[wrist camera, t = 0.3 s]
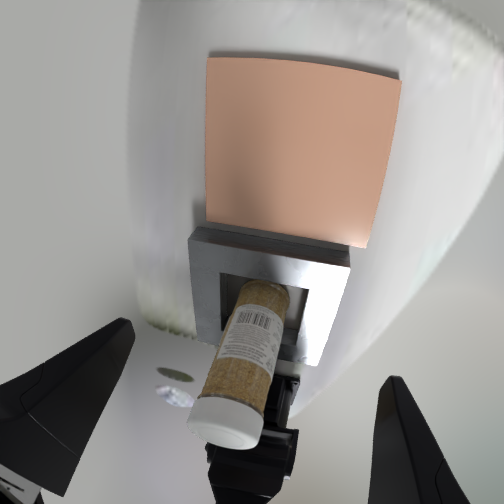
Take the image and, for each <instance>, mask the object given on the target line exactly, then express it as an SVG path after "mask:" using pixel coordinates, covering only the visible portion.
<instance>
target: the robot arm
mask: <svg viewBox="0 0 504 504" xmlns="http://www.w3.org/2000/svg"><path fill="white" fill-rule="evenodd" d="M134 341H135V332H134V329H133V326H132V323H131V321H130V320H128V319H125V318H122V317H121V318H118V319H116V320H114V321H112V322H111V323H109V324H108V325H106V326H104V327H102V328H101V329H99V330H97V331H96V332H94V333H92V334H91V335H89V336H87V337H85V338H84V339H82V340H80V341H79V342H77V343H75V344H74V345H72V346H70V347H69V348H67V349H66V350H64V351H62V352H60V353H59V354H57V355H55V356H54V357H52V358H50V359H49V360H47V361H45V363H42V364H40V365H39V366H37V367H35V368H34V369H32V370H30V371H28V372H26V373H25V374H22V375H20V376H18V377H16V378H14V379H12V380H10V381H8V382H6V383H4V384H1V385H0V504H44V502H43V499H42V495H41V492H40V490H41V488H44V489H46V490H48V491H50V492H52V493H54V494H57V495H59V496H61V497H64V495H65V492H66V490H67V488H68V485H69V483H70V481H71V479H72V476H73V474H74V472H75V469H76V467H77V465H78V463H79V461H80V458H81V455H82V454H83V451H84V449H85V447H86V445H87V442H88V441H89V438H90V436H91V434H92V432H93V430H94V428H95V426H96V424H97V422H98V420H99V418H100V416H101V414H102V411H103V410H104V407H105V406H106V404H107V402H108V399H109V398H110V396H111V394H112V392H113V390H114V388H115V386H116V384H117V382H118V380H119V378H120V376H121V374H122V371H123V369H124V366H125V364H126V361H127V359H128V356H129V354H130V351H131V349H132V346H133V344H134ZM299 385H300V380H299V379H296V378H290V377H285V376H280V375H274V374H273V378H272V382H271V385H270V387H269V391H268V394H267V400H266V403H265V407H264V411H263V414H264V417H263V421H264V423H263V427H262V431H261V435H260V438H259V441H258V444H257V445H256V446H255V447H253V448H250V449H243V450H242V449H231V448H225V447H221V446H218V445H215V444H212V443H209V442H207V444H206V446H205V450H206V451H207V462H208V463H210V464H211V465H210V468H209V471H208V477H209V480H210V484H211V487H212V491H213V494H214V497H215V500H216V504H267V503H268V502H269V501H270V500H271V499H272V498H273V497H274V496H275V495H276V494H277V493H278V492H279V491H280V490H281V487H282V483H283V479H284V480H289V478H290V476H291V473H292V469H293V465H294V461H295V455H296V448H297V440H298V434H299V430H298V429H287V428H286V425H287V420H288V415H289V410H290V405H292V404H293V401H294V398H295V396H296V393H297V390H298V388H299ZM372 453H373V454H372V467H371V478H370V489H369V498H368V504H470V502H469V501H468V499H467V497H466V496H465V494H464V492H463V491H462V489H461V488H460V486H459V484H458V482H457V481H456V479H455V477H454V475H453V473H452V472H451V469H450V467H449V465H448V463H447V461H446V459H445V458H444V456H443V453H442V451H441V449H440V447H439V445H438V443H437V441H436V439H435V437H434V435H433V434H432V432H431V430H430V428H429V426H428V424H427V422H426V420H425V419H424V416H423V415H422V413H421V411H420V409H419V407H418V406H417V403H416V402H415V400H414V398H413V396H412V394H411V393H410V391H409V389H408V387H407V385H406V384H405V382H404V380H403V379H402V377H400V376H393V375H392V376H389V377H388V379H387V380H386V381H385V383H384V384H383V386H382V387H381V389H380V391H379V397H378V405H377V412H376V420H375V426H374V435H373V452H372Z"/></svg>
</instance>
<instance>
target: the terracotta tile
mask: <svg viewBox="0 0 504 504" xmlns="http://www.w3.org/2000/svg"><path fill="white" fill-rule="evenodd" d="M401 84H402V81H400V80H397V79H393V78H389V77H385V76H381V75H377V74H372V73H368V72H363V71H358V70H353V69H348V68H342V67H336V66H330V65H323V64H316V63H308V62H300V61H290V60H278V59H263V58H233V57H219V58H207V76H206V125H205V176H206V221H210V222H216V223H223V224H229V225H235V226H241V227H247V228H253V229H259V230H265V231H271V232H277V233H283V234H289V235H295V236H300V237H306V238H312V239H317V240H323V241H328V242H334V243H339V244H345V245H350V246H356V247H361V248H366V246H367V242H368V239H369V236H370V232H371V229H372V225H373V221H374V218H375V214H376V210H377V206H378V202H379V198H380V194H381V190H382V186H383V182H384V178H385V173H386V169H387V164H388V160H389V155H390V150H391V145H392V140H393V135H394V129H395V123H396V118H397V112H398V105H399V99H400V92H401Z"/></svg>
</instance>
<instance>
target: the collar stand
mask: <svg viewBox="0 0 504 504" xmlns="http://www.w3.org/2000/svg"><path fill="white" fill-rule="evenodd" d="M188 250H189V262H190V273H191V284H192V294H193V304H194V313H195V321H196V330H197V338H198V341H201V342H205V343H209V344H213V345H217V346H219V343H220V340H221V338H222V335H223V333H224V330H225V328H226V325H227V323H228V320H229V318H230V316H227V274H232V275H237V276H242V277H247V278H253V279H258V280H263V281H268V282H274V283H279V284H284V285H290V286H295V287H301V288H306V289H308V292H307V296H306V301H305V305H304V309H303V313H302V317H301V321H300V325H299V329H298V330H294V329H289V328H284V327H283V334H282V338H281V343H280V347H279V351H278V356H277V359H281V360H286V361H291V362H297V363H302V364H308V365H314V366H317V363H318V361H319V358H320V356H321V353H322V350H323V348H324V345H325V342H326V340H327V337H328V334H329V331H330V329H331V326H332V323H333V320H334V317H335V314H336V311H337V308H338V305H339V302H340V299H341V296H342V293H343V290H344V287H345V284H346V281H347V277H348V274H349V271H350V256H349V253H348V252H342V251H337V250H331V249H326V248H320V247H315V246H309V245H303V244H298V243H292V242H286V241H281V240H275V239H269V238H263V237H257V236H251V235H246V234H240V233H234V232H228V231H222V230H216V229H209V228H203V227H197V228H196V229H195V231H194V232H193V233H192V234H191V236H190V237H189V238H188Z"/></svg>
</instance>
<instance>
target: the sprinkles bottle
mask: <svg viewBox="0 0 504 504" xmlns="http://www.w3.org/2000/svg"><path fill="white" fill-rule="evenodd" d="M289 303H290V301H289V296H288V294H287V292H286V291H285V289H284V288H283V287H281V286H280V285H279V284H278V283H274V282H268V281H263V280H258V279H254V280H251V281H249V282H247V283H245V284H244V285H243V286H242V287H241V289H240V292H239V298H238V300H237V303H236V305H235V308H234V310H233V313H232V315H231V316H230V318H229V320H228V323H227V325H226V328H225V330H224V333H223V335H222V338H221V340H220V343H219V348H218V351H217V353H216V356H215V358H214V361H213V364H212V367H211V368H210V371H209V373H208V377H207V379H206V382H205V386H204V387H203V390H202V393H201V394H200V395H199V396H198V398H197V400H196V401H195V402H194V404H193V407H192V410H191V413H190V415H189V418H188V421H187V426H188V428H189V430H190V431H191V432H192V433H193V434H195V435H196V436H198V437H199V438H201V439H203V440H205V441H207V442H209V443H212V444H215V445H218V446H221V447H225V448H231V449H242V450H243V449H250V448H253V447H255V446H256V445H257V444H258V441H259V438H260V435H261V431H262V427H263V423H264V421H263V417H264V414H263V411H264V407H265V403H266V400H267V394H268V391H269V387H270V385H271V382H272V378H273V374H274V369H275V365H276V360H277V356H278V351H279V347H280V343H281V338H282V334H283V325H284V320H285V316H286V311H287V309H288V307H289Z"/></svg>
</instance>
